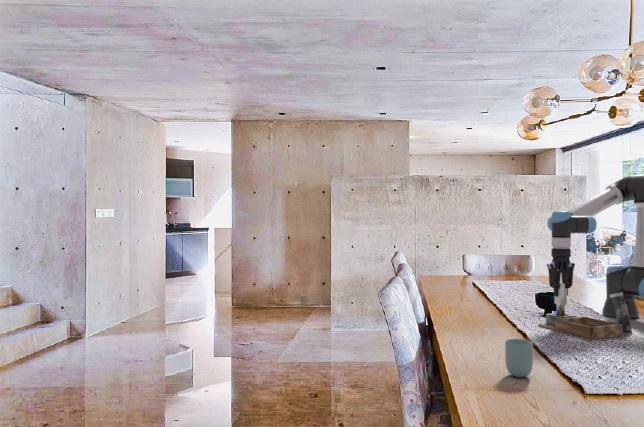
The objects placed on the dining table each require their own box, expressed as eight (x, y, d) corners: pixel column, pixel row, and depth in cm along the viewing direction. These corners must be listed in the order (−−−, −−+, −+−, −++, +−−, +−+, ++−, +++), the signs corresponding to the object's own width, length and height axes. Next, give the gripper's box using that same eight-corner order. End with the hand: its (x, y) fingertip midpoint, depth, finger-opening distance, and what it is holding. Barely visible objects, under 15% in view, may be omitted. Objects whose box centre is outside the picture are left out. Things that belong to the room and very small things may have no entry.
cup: (501, 372, 179) (501, 339, 179) (526, 371, 180) (526, 338, 180) (511, 379, 171) (511, 344, 171) (537, 378, 172) (537, 344, 172)
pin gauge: (560, 313, 251) (561, 282, 251) (566, 314, 248) (566, 283, 248) (555, 313, 250) (555, 282, 250) (560, 314, 247) (560, 283, 247)
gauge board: (567, 323, 256) (567, 311, 256) (622, 335, 230) (622, 323, 230) (538, 326, 250) (538, 314, 250) (591, 339, 224) (591, 326, 224)
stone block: (619, 332, 237) (633, 330, 235) (608, 297, 239) (622, 294, 236) (619, 328, 245) (633, 326, 243) (608, 294, 247) (622, 291, 244)
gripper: (568, 246, 255) (568, 301, 255) (539, 247, 249) (539, 303, 249) (582, 247, 248) (582, 304, 249) (553, 248, 242) (553, 306, 242)
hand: (560, 303), depth 249 cm, fingers closed on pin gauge, 3 cm apart
